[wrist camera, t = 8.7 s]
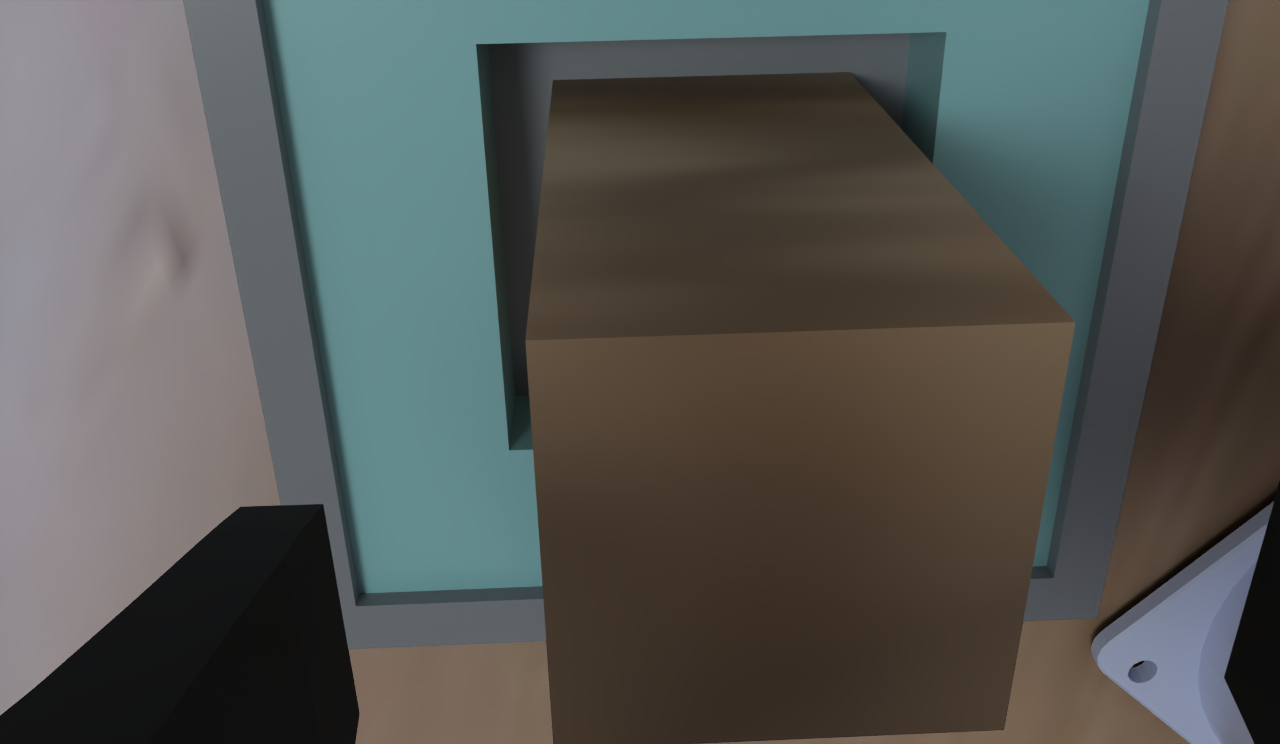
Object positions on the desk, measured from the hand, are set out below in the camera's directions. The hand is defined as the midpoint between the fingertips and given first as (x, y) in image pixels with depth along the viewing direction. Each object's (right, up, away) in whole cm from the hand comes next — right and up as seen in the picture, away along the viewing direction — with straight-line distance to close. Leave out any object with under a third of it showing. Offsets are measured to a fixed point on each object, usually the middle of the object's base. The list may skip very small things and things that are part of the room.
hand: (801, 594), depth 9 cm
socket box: (0, +4, +8) cm, 9 cm away
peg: (0, +4, +7) cm, 8 cm away
